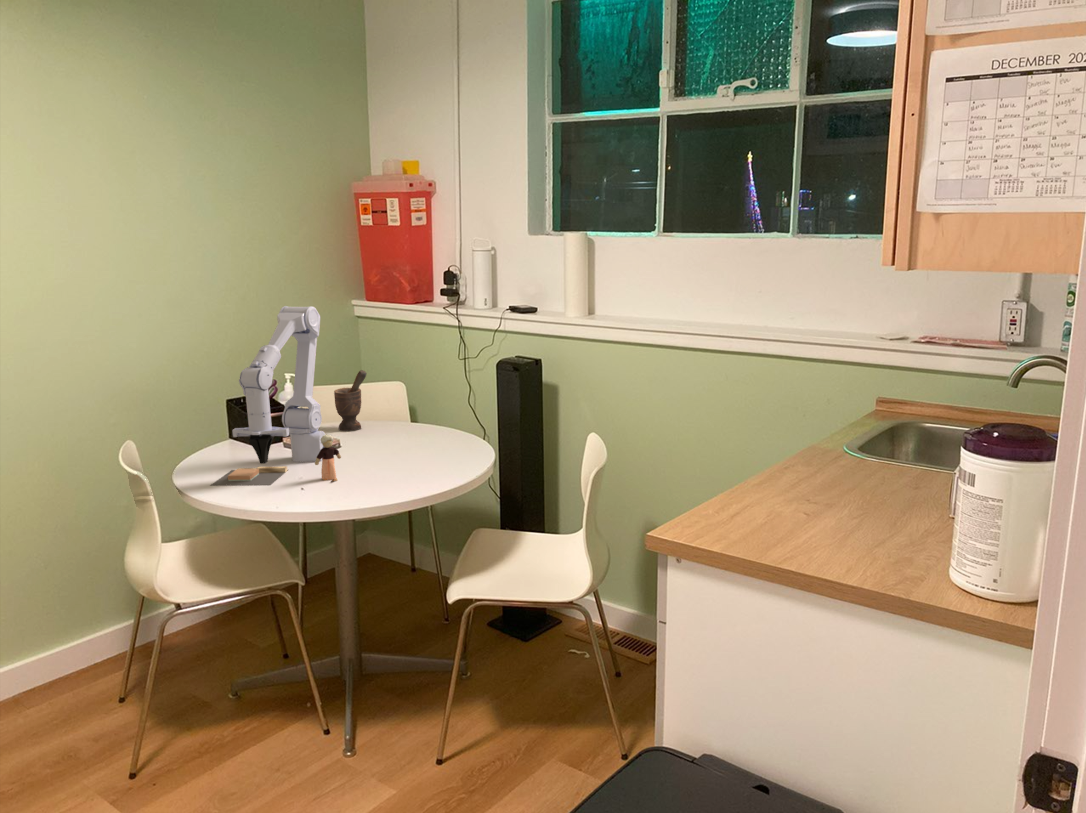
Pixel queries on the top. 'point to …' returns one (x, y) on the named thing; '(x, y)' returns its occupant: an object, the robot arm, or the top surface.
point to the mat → (258, 480)
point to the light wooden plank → (269, 469)
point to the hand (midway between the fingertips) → (263, 462)
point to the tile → (243, 475)
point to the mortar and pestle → (349, 404)
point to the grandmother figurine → (327, 458)
